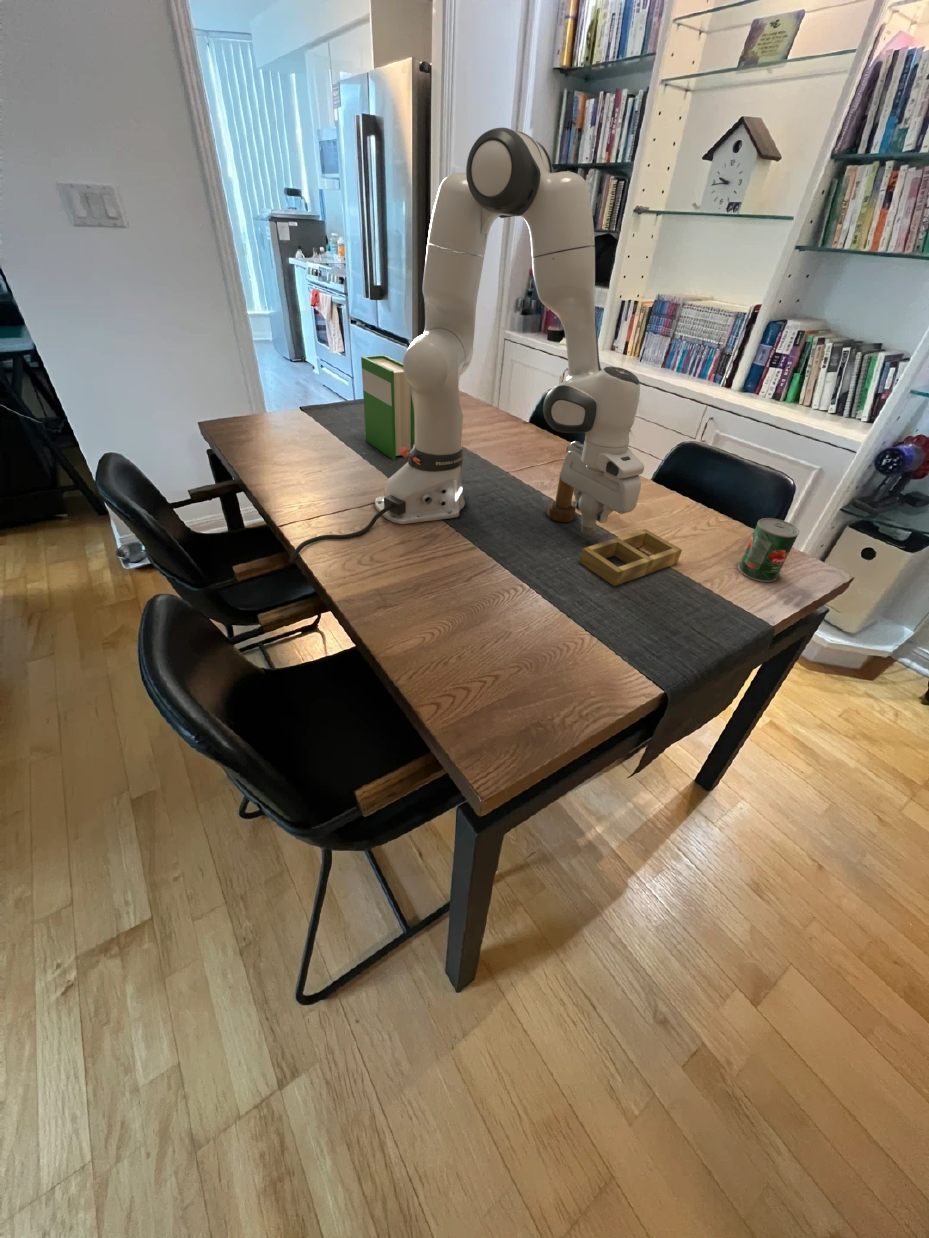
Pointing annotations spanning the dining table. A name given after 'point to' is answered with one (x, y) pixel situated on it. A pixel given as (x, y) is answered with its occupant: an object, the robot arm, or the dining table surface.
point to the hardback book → (387, 405)
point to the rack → (630, 556)
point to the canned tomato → (768, 549)
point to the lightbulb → (589, 512)
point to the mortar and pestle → (562, 503)
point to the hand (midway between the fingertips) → (590, 515)
